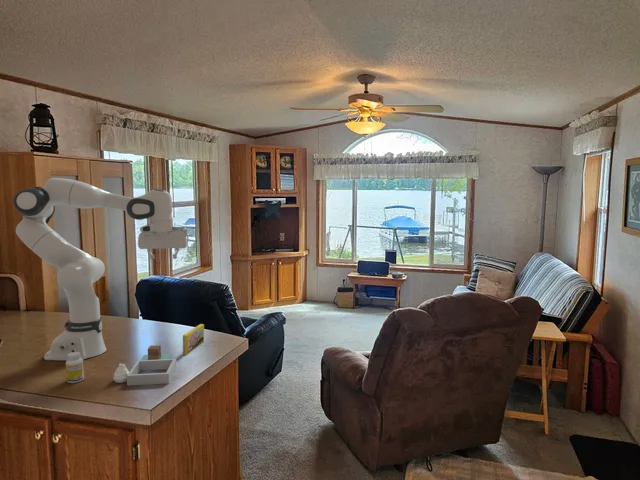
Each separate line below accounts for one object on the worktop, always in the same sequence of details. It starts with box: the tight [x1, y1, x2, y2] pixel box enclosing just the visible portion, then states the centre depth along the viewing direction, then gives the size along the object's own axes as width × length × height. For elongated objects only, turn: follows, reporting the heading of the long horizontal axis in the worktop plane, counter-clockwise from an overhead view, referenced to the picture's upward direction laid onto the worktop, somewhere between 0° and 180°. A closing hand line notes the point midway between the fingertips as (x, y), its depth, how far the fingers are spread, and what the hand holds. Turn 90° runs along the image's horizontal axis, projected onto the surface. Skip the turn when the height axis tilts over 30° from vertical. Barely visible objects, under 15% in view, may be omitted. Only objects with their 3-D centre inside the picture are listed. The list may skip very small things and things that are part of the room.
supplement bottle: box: [65, 352, 85, 384], centre depth 161 cm, size 5×5×10 cm
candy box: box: [182, 323, 205, 356], centre depth 194 cm, size 16×2×8 cm, turn 168°
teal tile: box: [140, 353, 173, 360], centre depth 179 cm, size 11×11×1 cm
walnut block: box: [147, 344, 162, 360], centre depth 179 cm, size 4×4×5 cm
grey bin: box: [126, 358, 177, 387], centre depth 165 cm, size 14×14×4 cm
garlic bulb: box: [112, 363, 130, 384], centre depth 162 cm, size 6×6×5 cm
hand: (163, 258), depth 198 cm, fingers open, 8 cm apart
